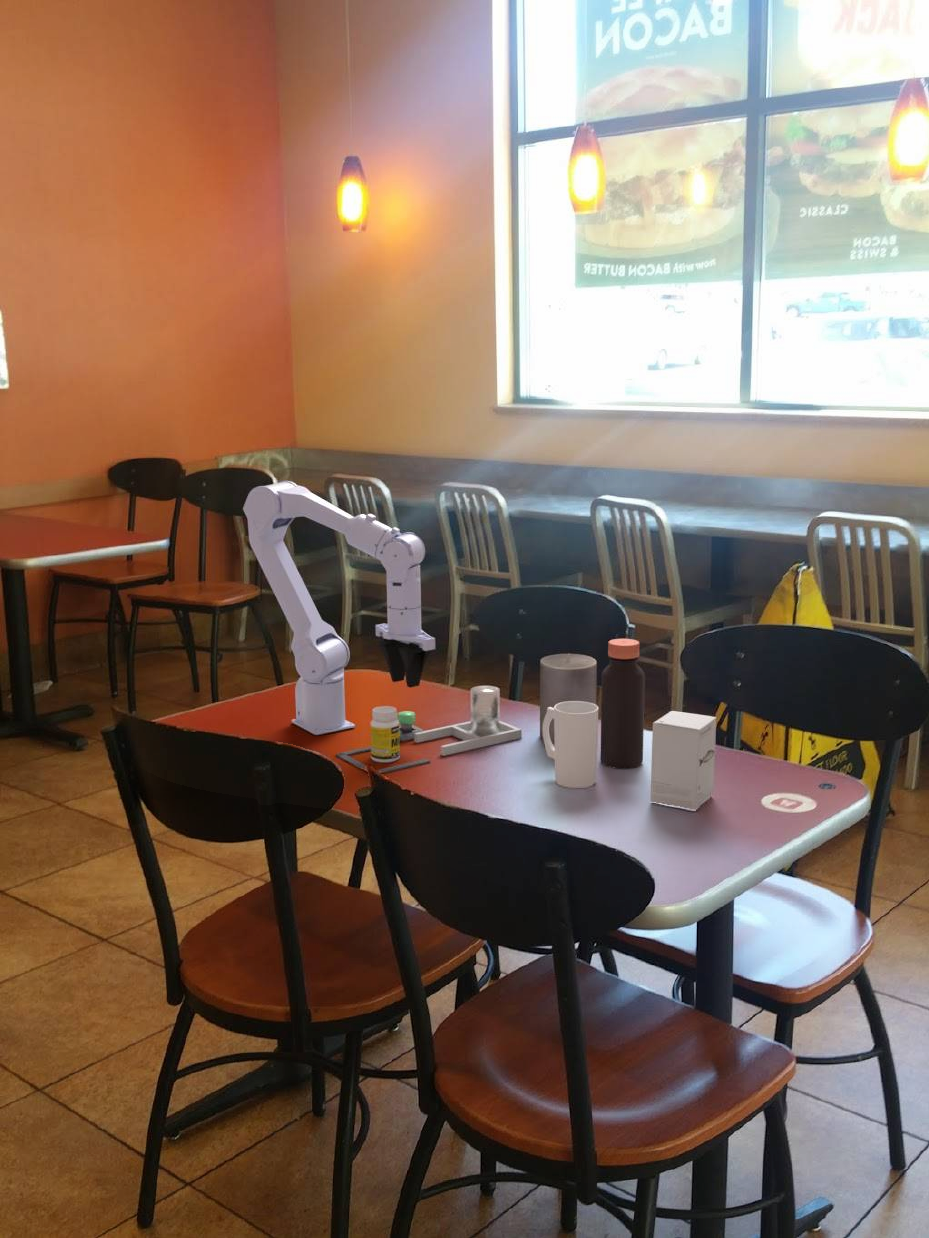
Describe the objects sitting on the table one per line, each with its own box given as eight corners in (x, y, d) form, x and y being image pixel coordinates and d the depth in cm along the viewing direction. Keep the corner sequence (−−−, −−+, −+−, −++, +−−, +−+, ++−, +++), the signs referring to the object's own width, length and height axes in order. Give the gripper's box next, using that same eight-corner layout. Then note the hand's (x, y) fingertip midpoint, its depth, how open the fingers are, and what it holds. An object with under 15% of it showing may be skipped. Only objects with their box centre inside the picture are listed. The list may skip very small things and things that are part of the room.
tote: (335, 755, 204) (335, 753, 204) (391, 743, 210) (391, 741, 210) (372, 775, 194) (372, 774, 194) (430, 762, 200) (430, 760, 200)
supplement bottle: (395, 764, 199) (394, 714, 198) (367, 762, 200) (366, 712, 199) (403, 754, 204) (402, 705, 202) (375, 752, 205) (374, 704, 203)
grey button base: (389, 734, 214) (389, 728, 214) (410, 730, 217) (410, 723, 216) (402, 741, 211) (402, 734, 210) (424, 736, 213) (424, 730, 213)
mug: (606, 781, 191) (607, 707, 188) (578, 792, 186) (579, 716, 183) (557, 766, 198) (557, 694, 195) (528, 776, 193) (529, 703, 190)
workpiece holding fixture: (414, 741, 210) (414, 733, 210) (490, 724, 219) (490, 716, 219) (443, 755, 203) (443, 747, 203) (521, 737, 212) (521, 729, 212)
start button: (394, 728, 214) (394, 713, 213) (409, 725, 215) (409, 710, 215) (403, 732, 211) (403, 717, 211) (418, 729, 213) (418, 714, 212)
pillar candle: (546, 726, 218) (545, 644, 214) (600, 730, 215) (601, 647, 212) (534, 744, 209) (533, 659, 205) (591, 748, 206) (591, 662, 203)
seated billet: (465, 733, 214) (464, 688, 212) (488, 728, 216) (488, 684, 215) (481, 740, 210) (481, 695, 208) (505, 735, 212) (505, 690, 211)
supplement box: (696, 813, 178) (699, 729, 175) (648, 803, 181) (650, 721, 179) (714, 797, 184) (718, 716, 181) (668, 788, 188) (670, 708, 185)
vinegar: (651, 761, 199) (654, 641, 195) (626, 772, 195) (628, 649, 190) (616, 752, 204) (619, 635, 200) (591, 762, 199) (593, 642, 195)
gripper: (360, 602, 212) (362, 678, 215) (410, 616, 201) (412, 696, 204) (393, 597, 216) (395, 672, 219) (444, 610, 205) (445, 689, 208)
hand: (405, 683), depth 212 cm, fingers open, 4 cm apart
